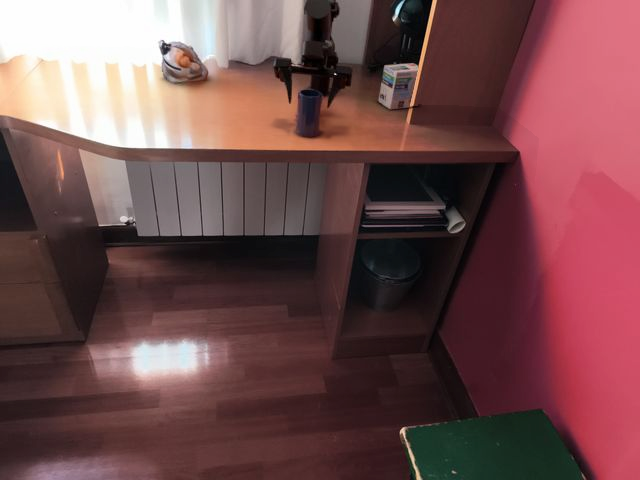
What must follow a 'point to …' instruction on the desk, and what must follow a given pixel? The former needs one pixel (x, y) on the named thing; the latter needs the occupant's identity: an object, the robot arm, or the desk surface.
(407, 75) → the light bulb box
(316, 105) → the pencil cup
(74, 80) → the desk surface
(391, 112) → the desk surface
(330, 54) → the robot arm
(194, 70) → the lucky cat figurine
